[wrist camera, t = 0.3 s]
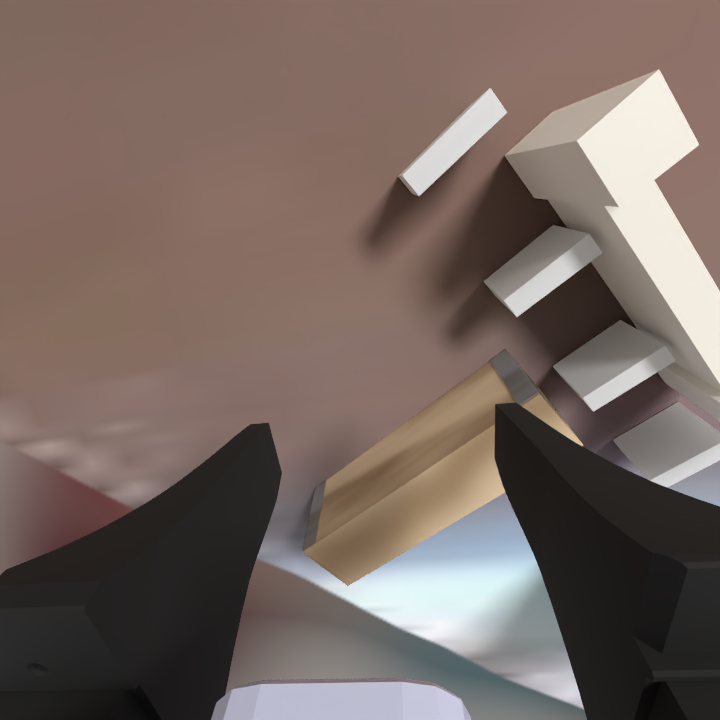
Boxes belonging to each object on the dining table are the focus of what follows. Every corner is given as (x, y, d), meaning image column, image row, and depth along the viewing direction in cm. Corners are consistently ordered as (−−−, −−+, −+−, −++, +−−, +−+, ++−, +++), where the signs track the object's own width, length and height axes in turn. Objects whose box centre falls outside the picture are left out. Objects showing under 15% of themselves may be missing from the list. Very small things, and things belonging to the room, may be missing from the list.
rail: (542, 392, 22) (584, 445, 18) (353, 518, 27) (348, 586, 23) (504, 348, 21) (539, 393, 17) (315, 487, 26) (302, 551, 21)
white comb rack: (729, 388, 22) (874, 474, 15) (620, 450, 24) (709, 549, 17) (517, 57, 16) (609, -25, 10) (398, 176, 18) (408, 173, 12)
